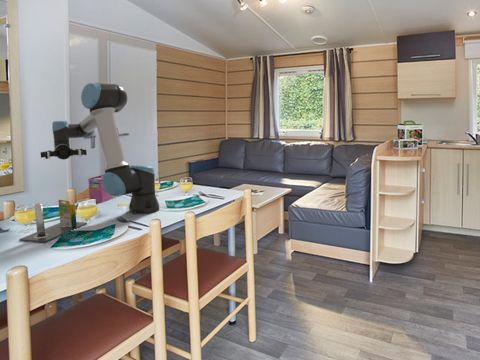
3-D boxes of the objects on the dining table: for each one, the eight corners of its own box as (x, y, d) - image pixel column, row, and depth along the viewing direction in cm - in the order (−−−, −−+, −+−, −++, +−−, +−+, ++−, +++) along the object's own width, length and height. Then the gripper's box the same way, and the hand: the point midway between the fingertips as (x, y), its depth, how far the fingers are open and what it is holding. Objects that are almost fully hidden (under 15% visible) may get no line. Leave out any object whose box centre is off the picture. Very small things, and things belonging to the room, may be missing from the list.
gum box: (113, 193, 242) (111, 172, 240) (124, 194, 240) (123, 172, 238) (89, 202, 219) (87, 178, 217) (101, 203, 217) (100, 179, 215)
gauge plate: (87, 224, 175) (87, 222, 175) (45, 243, 150) (45, 240, 150) (64, 222, 178) (64, 220, 178) (19, 240, 153) (19, 238, 153)
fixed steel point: (46, 235, 157) (43, 202, 155) (41, 237, 155) (38, 204, 152) (41, 234, 158) (37, 202, 156) (35, 236, 155) (32, 204, 153)
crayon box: (77, 225, 170) (75, 199, 168) (71, 227, 167) (69, 201, 165) (66, 223, 173) (63, 198, 171) (60, 225, 171) (57, 199, 169)
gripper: (89, 157, 206) (93, 160, 187) (36, 160, 196) (35, 164, 177) (88, 143, 205) (92, 145, 186) (35, 145, 194) (33, 148, 175)
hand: (64, 154), depth 181 cm, fingers open, 13 cm apart
